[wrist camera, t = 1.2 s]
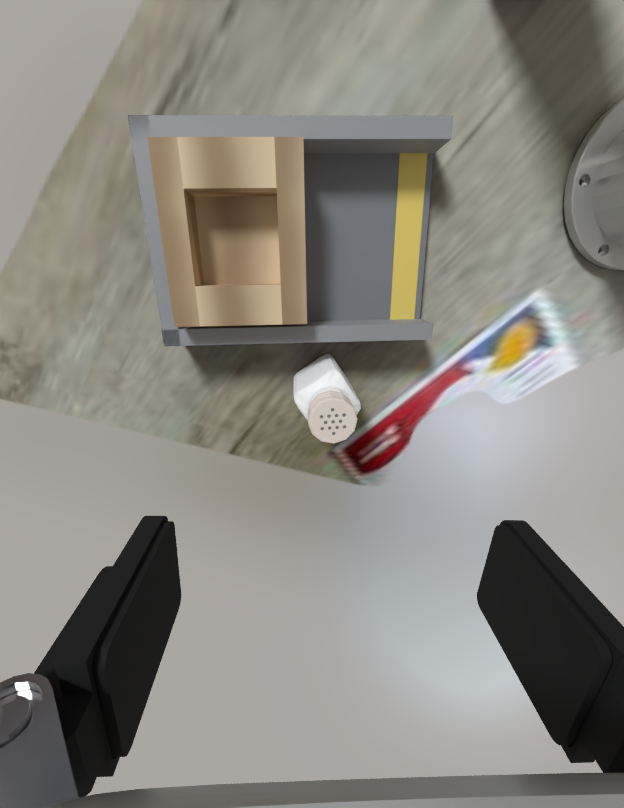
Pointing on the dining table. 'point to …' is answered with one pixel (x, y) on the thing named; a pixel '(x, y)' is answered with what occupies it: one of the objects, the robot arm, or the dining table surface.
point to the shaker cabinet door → (232, 228)
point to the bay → (327, 223)
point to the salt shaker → (326, 400)
